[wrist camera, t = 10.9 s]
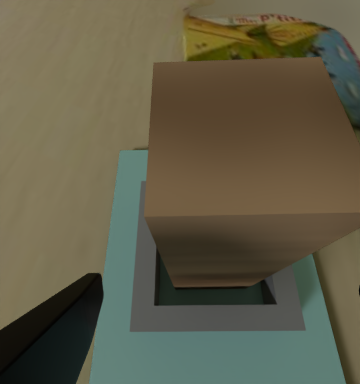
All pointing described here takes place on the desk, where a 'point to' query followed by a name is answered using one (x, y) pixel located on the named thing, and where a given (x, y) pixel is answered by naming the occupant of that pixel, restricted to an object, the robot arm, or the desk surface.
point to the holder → (202, 314)
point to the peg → (247, 168)
